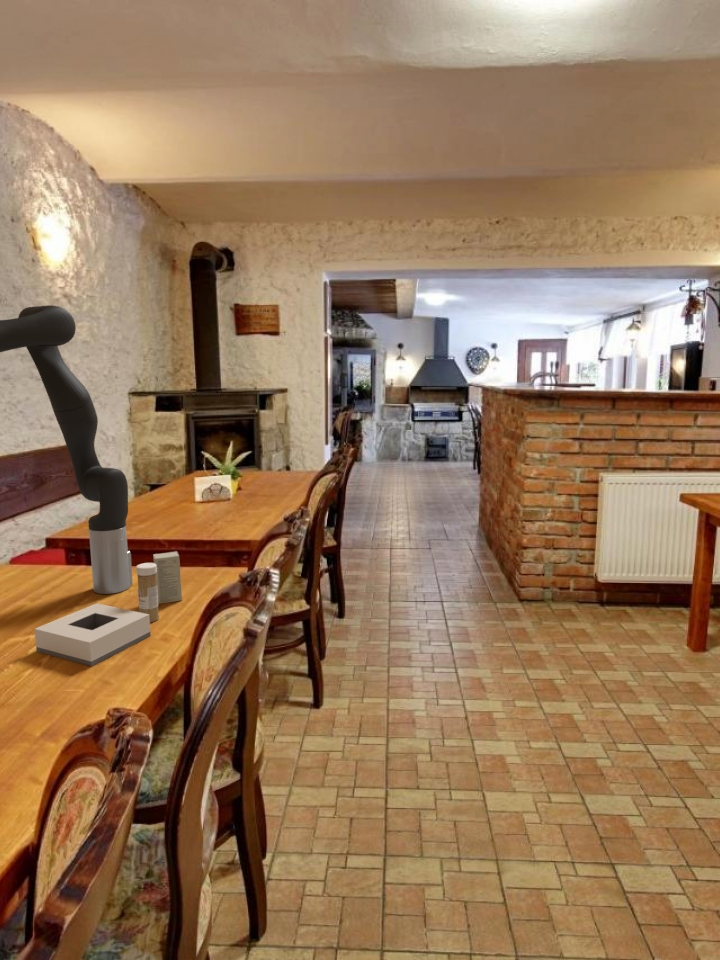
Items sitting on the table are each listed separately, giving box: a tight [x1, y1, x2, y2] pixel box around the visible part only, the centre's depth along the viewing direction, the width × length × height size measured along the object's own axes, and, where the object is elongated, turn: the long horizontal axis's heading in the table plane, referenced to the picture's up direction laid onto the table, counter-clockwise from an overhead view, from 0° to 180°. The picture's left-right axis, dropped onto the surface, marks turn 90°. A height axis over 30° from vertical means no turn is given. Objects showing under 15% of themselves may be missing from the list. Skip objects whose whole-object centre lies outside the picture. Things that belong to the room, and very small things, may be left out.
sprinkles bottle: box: [135, 562, 160, 623], centre depth 142 cm, size 5×5×13 cm
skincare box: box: [152, 550, 183, 605], centre depth 155 cm, size 6×4×12 cm
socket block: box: [34, 602, 151, 667], centre depth 130 cm, size 16×16×5 cm
